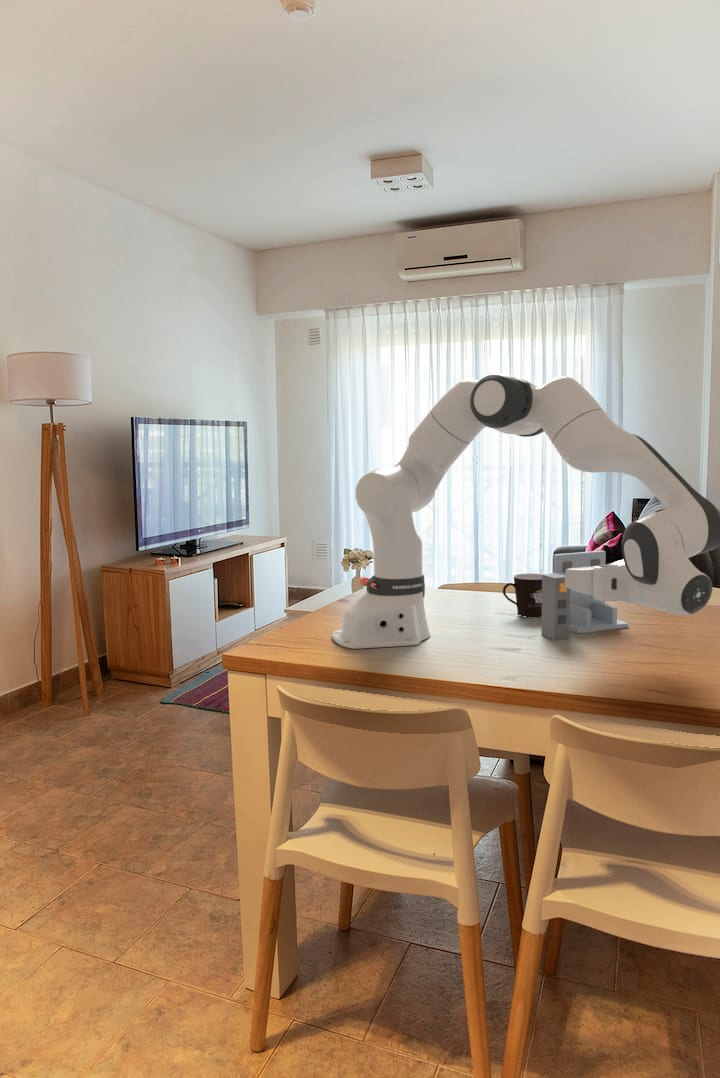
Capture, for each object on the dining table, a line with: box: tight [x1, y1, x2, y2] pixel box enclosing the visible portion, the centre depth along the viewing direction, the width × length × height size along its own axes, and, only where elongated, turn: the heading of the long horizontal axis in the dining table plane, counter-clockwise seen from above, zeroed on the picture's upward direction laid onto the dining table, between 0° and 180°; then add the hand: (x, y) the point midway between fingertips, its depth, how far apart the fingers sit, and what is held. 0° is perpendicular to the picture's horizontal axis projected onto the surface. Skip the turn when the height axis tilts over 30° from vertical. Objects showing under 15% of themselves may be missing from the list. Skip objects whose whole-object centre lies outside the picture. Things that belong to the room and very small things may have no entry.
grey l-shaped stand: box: [552, 550, 629, 634], centre depth 176 cm, size 14×10×17 cm
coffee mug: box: [502, 573, 543, 618], centre depth 189 cm, size 12×9×10 cm
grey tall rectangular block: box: [541, 573, 570, 641], centre depth 167 cm, size 4×6×14 cm
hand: (590, 569), depth 155 cm, fingers open, 8 cm apart
